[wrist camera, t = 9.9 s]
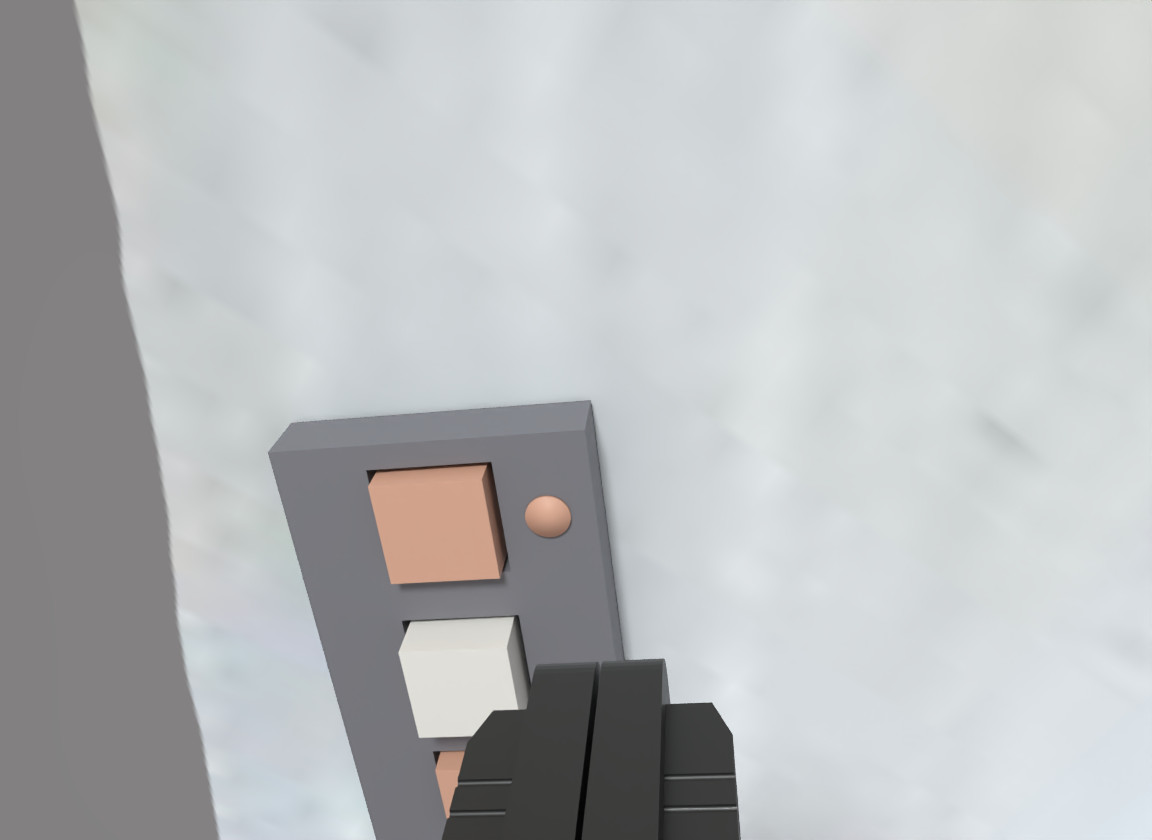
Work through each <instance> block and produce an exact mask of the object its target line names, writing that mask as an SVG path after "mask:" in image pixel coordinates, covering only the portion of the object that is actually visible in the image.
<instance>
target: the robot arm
mask: <svg viewBox="0 0 1152 840" xmlns="http://www.w3.org/2000/svg"><path fill="white" fill-rule="evenodd" d="M457 780H458V786H457V787H455V791H454V794H453V798H452V802H451V806H450V809H449V812H450V816H449V818H447V821H446V825H445V828H444V832H443V836H442V840H741V837H740V824H739V811H738V798H737V785H736V772H735V759H734V746H733V735H732V733H731V731H730V730H729V728H728V727H727V725H726V724H725V722H724V721H723V719H722V718H721V716H720V714H719V713H718V711H717V710H716V708H715V707H714V705H713V704H712V703H687V704H670V696H669V687H668V678H667V669H666V663H665V659H644V660H619V661H603V662H602V664H601V666H600V664H599V662H576V663H551V664H537V665H536V667H535V670H534V674H533V678H532V683H531V688H530V693H529V698H528V703H527V708H526V709H521V710H493V711H492V712H491V714H490V715H489V716H488V717H487V719H486V720H485V721H484V722H483V724H482V725H481V726H480V727H479V729H478V730H477V731H476V732H475V734H474V735H473V736H472V738H471V739H470V740H469V741H468V743H467V746H466V749H465V753H464V757H463V761H462V764H461V768H460V772H459V776H458V779H457Z"/></svg>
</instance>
